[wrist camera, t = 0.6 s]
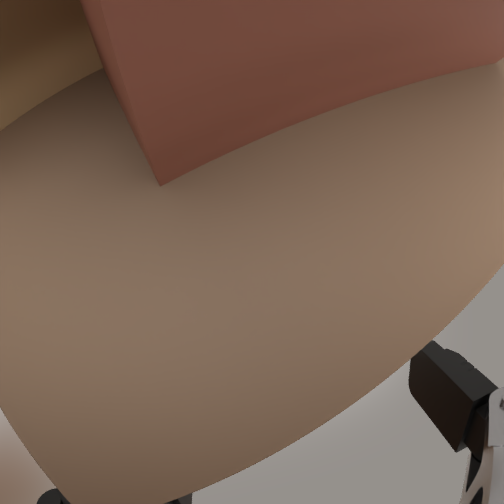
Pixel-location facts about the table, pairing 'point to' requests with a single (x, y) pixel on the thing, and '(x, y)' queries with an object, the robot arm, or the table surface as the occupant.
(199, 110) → the mallet
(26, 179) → the wooden pedestal column
